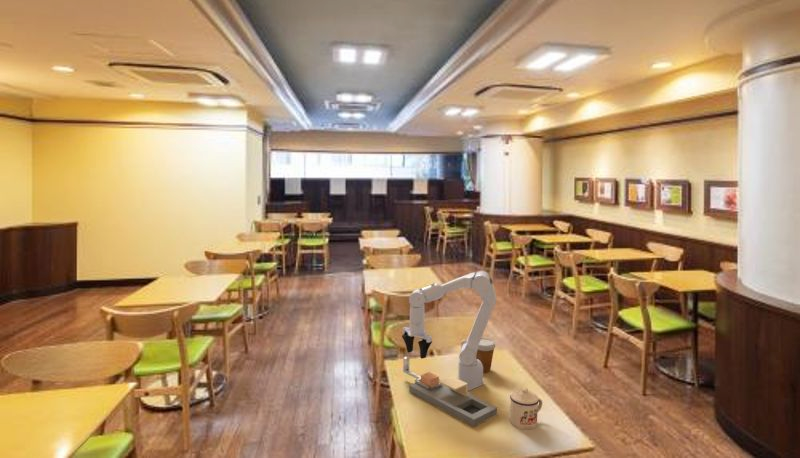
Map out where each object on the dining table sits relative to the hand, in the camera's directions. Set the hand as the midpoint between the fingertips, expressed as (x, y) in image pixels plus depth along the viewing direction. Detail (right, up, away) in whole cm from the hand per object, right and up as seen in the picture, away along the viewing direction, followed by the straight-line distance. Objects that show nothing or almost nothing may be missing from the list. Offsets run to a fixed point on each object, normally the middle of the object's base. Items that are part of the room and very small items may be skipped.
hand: (416, 354), depth 185 cm
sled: (+1, -8, -5) cm, 9 cm away
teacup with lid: (+35, -15, -29) cm, 48 cm away
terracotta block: (+5, -9, -9) cm, 13 cm away
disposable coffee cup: (+28, -9, +11) cm, 31 cm away
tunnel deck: (+11, -12, -16) cm, 23 cm away
